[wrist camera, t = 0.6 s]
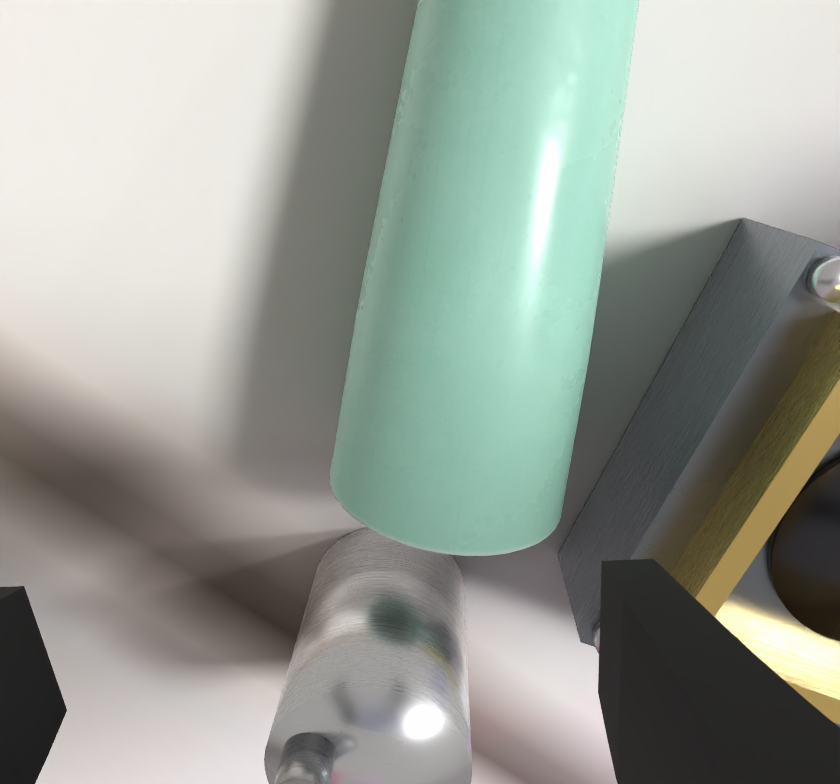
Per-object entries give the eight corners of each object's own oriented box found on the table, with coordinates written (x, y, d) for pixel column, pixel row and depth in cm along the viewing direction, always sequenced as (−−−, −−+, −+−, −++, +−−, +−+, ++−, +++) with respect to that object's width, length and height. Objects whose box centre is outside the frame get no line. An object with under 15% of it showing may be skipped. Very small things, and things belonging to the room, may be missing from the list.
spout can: (487, 555, 20) (512, 801, 12) (431, 666, 21) (425, 942, 14) (342, 504, 19) (281, 729, 12) (295, 622, 21) (218, 883, 14)
